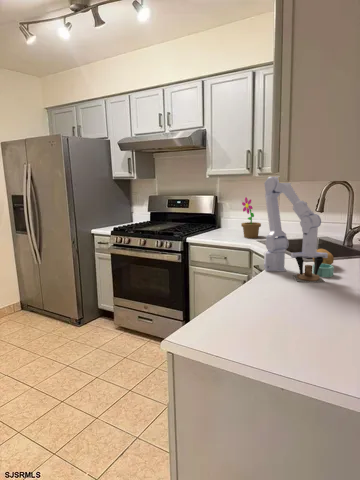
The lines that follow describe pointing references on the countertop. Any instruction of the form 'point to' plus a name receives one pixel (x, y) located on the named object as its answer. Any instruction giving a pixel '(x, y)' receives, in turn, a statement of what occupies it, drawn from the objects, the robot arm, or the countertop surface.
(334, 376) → the countertop surface
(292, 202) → the robot arm
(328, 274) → the bowl
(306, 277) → the lid
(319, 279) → the mat
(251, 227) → the flowerpot
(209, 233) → the countertop surface
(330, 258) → the potato
